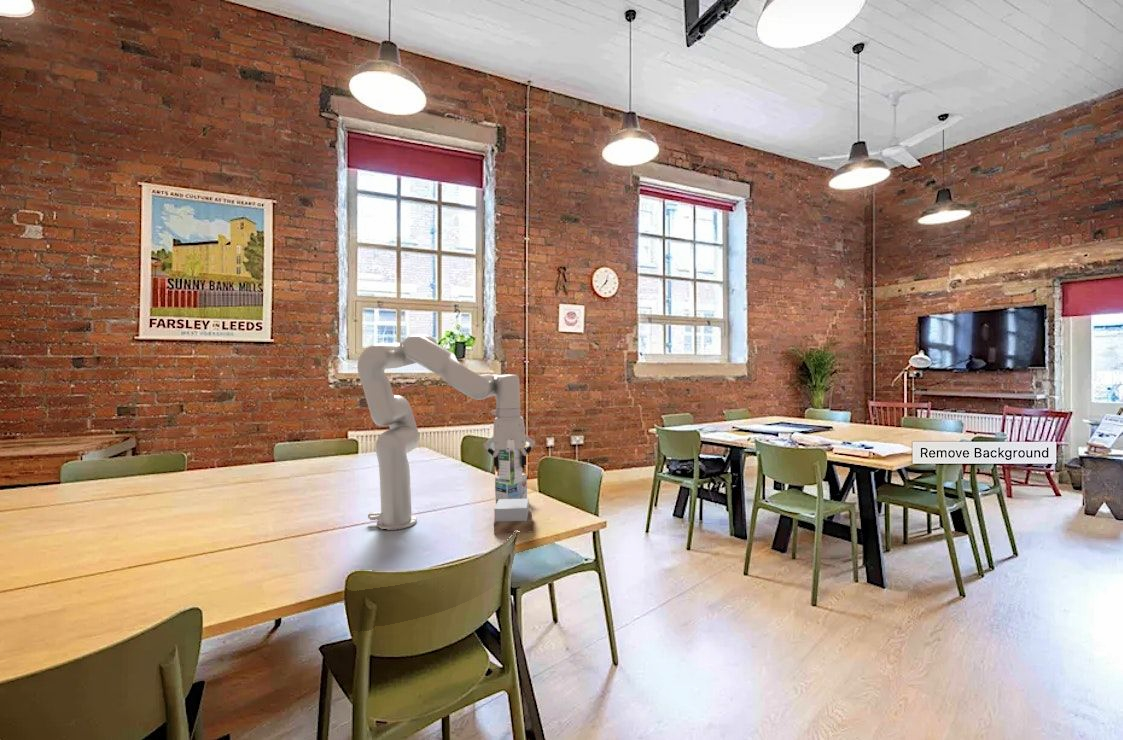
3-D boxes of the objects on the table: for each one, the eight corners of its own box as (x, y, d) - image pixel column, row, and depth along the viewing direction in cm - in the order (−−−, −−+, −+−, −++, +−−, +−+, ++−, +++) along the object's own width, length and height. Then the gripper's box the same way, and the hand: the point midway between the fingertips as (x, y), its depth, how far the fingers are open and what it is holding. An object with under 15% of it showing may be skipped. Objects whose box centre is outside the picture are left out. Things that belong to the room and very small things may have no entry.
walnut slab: (494, 535, 154) (493, 522, 153) (495, 522, 166) (495, 510, 165) (532, 533, 155) (532, 520, 155) (531, 520, 167) (531, 508, 166)
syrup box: (498, 483, 158) (496, 438, 157) (508, 479, 163) (507, 435, 162) (513, 485, 155) (511, 439, 154) (523, 480, 160) (521, 436, 160)
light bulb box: (508, 509, 176) (507, 479, 176) (494, 506, 180) (493, 477, 180) (528, 502, 185) (527, 473, 184) (514, 499, 189) (514, 471, 188)
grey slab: (494, 521, 155) (494, 508, 154) (498, 511, 165) (498, 499, 164) (526, 520, 154) (526, 508, 154) (529, 510, 164) (528, 498, 164)
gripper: (480, 416, 153) (482, 472, 154) (536, 413, 155) (538, 469, 156) (481, 412, 161) (483, 466, 162) (535, 410, 163) (536, 464, 164)
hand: (510, 467), depth 159 cm, fingers closed on syrup box, 7 cm apart
